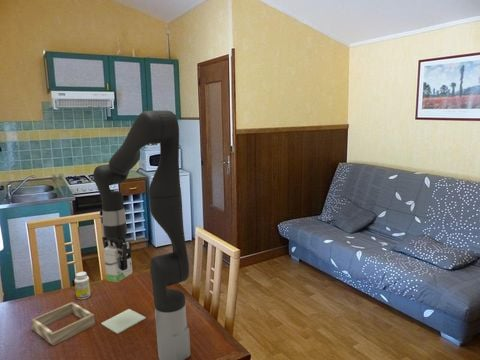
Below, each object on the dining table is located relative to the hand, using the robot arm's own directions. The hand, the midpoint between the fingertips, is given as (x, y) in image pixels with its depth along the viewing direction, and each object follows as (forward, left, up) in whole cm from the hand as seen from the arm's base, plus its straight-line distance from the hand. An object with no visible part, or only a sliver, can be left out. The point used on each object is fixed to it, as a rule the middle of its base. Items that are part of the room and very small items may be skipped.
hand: (118, 267), depth 134 cm
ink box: (0, 0, -4) cm, 4 cm away
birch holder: (+14, +15, -21) cm, 29 cm away
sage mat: (0, 0, -21) cm, 21 cm away
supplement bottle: (+29, -1, -21) cm, 36 cm away
